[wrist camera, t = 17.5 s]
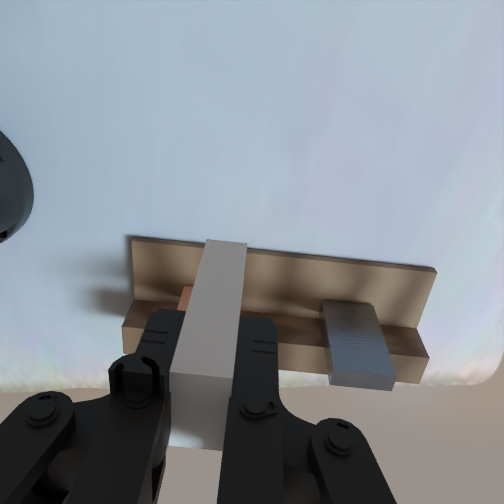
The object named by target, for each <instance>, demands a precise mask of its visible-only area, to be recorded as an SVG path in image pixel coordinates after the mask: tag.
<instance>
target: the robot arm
mask: <svg viewBox="0 0 504 504" xmlns="http://www.w3.org/2000/svg"><path fill="white" fill-rule="evenodd" d="M33 198H34V193H33V184H32V180H31V176H30V173H29V170H28V168H27V166H26V164H25V162H24V160H23V158H22V156H21V155H20V153H19V152H18V150H17V149H16V148H15V146H14V145H13V144H12V143H11V141H10V140H9V139H8V138H7V137H6V136H5V135H4V134H3V133H2V132H1V131H0V243H2V242H4V241H6V240H7V239H8V238H10V237H11V236H12V235H13V234H14V233H16V232H17V231H18V230H19V229H20V228H21V227H22V226H23V225H24V224H25V222H26V221H27V219H28V217H29V215H30V213H31V210H32V206H33ZM246 251H247V243H238V242H228V241H219V240H209V239H207V240H206V243H205V247H204V250H203V254H202V258H201V261H200V265H199V268H198V272H197V275H196V279H195V282H194V286H193V290H192V293H191V297H190V300H189V304H188V307H187V311H182V310H173V309H163V308H159V309H158V310H157V311H156V312H155V313H153V314H152V315H151V316H150V317H149V318H148V321H147V323H146V326H145V328H144V332H143V333H142V336H141V338H140V342H139V344H138V346H137V349H136V351H135V353H131V354H128V355H125V356H122V357H121V358H119V359H118V360H116V361H115V362H113V364H112V365H111V367H110V368H109V369H108V373H109V383H110V394H108V395H106V396H104V397H101V398H97V399H93V400H88V401H82V402H76V403H73V402H72V400H71V398H70V397H69V396H67V395H65V394H64V393H62V392H55V391H48V392H42V393H38V394H36V395H33V396H31V397H29V398H27V399H26V400H25V401H23V402H22V403H21V404H19V405H18V406H17V407H16V408H15V409H14V410H13V411H12V413H11V414H10V415H9V416H8V417H7V418H6V419H5V420H4V421H3V422H2V423H1V424H0V504H157V501H158V496H159V492H160V488H161V484H162V479H163V474H164V470H165V466H166V449H167V445H168V441H169V446H178V447H188V448H198V449H208V450H218V451H223V454H222V462H221V471H220V481H219V489H218V497H217V504H397V503H396V501H395V499H394V497H393V495H392V493H391V491H390V488H389V486H388V484H387V482H386V480H385V478H384V476H383V474H382V472H381V469H380V467H379V465H378V463H377V461H376V459H375V457H374V455H373V453H372V451H371V448H370V446H369V444H368V442H367V440H366V438H365V437H364V435H363V434H362V433H361V431H360V430H359V429H358V428H357V427H355V426H354V425H353V424H352V423H350V422H347V421H345V420H342V419H336V418H328V419H325V420H321V421H320V422H319V423H317V425H314V424H312V423H309V422H307V421H304V420H302V419H300V418H298V417H296V416H294V415H293V414H291V413H290V412H289V411H288V410H287V409H286V408H285V407H284V405H283V404H282V402H281V400H280V397H279V378H278V330H277V328H276V326H275V324H274V323H273V321H272V319H270V318H261V317H251V316H241V315H240V309H241V299H242V289H243V280H244V270H245V261H246Z"/></svg>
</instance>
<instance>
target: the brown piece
mask: <svg viewBox="0 0 504 504" xmlns="http://www.w3.org/2000/svg"><path fill="white" fill-rule="evenodd" d="M131 242H132V262H133V282H134V301H133V303H132V305H131V308H130V310H129V312H128V314H127V316H126V318H125V320H124V323H123V325H122V339H123V353H124V354H131V353H135V351H136V349H137V346H138V344H139V342H140V338H141V336H142V333H143V332H144V328H145V326H146V323H147V321H148V318H149V317H150V316H151V315H152V314H153V313H155V312H156V311H157V310H158V309H159V308H163V309H173V310H177V308H178V305H179V302H180V298H181V295H182V292H183V289H184V286H192V287H193V286H194V282H195V279H196V275H197V272H198V268H199V265H200V261H201V258H202V254H203V250H204V247H205V244H200V243H190V242H181V241H172V240H162V239H153V238H143V237H133V239H132V241H131ZM436 275H437V272H436V270H435V269H434V268H427V267H418V266H408V265H399V264H389V263H380V262H370V261H361V260H352V259H342V258H333V257H323V256H314V255H304V254H295V253H285V252H276V251H266V250H257V249H247V251H246V261H245V270H244V280H243V289H242V299H241V309H240V315H241V316H251V317H261V318H270V319H272V321H273V323H274V324H275V326H276V328H277V330H278V370H288V371H298V372H307V373H317V374H327V375H328V371H327V364H326V357H325V350H324V344H323V337H322V330H321V323H320V317H319V312H320V307H321V302H322V300H328V301H337V302H347V303H356V304H366V305H373V306H374V309H375V312H376V315H377V318H378V321H379V324H380V327H381V330H382V333H383V336H384V339H385V342H386V345H387V348H388V351H389V354H390V357H391V360H392V363H393V366H394V369H395V372H396V375H397V378H396V380H395V382H405V383H415V384H419V383H420V380H421V378H422V375H423V373H424V371H425V368H426V366H427V363H428V361H429V356H428V354H427V351H426V349H425V347H424V345H423V342H422V340H421V338H420V335H419V333H418V331H417V326H418V323H419V321H420V318H421V315H422V312H423V310H424V307H425V304H426V302H427V299H428V296H429V294H430V291H431V288H432V286H433V283H434V280H435V278H436Z"/></svg>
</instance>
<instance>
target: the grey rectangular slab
mask: <svg viewBox="0 0 504 504" xmlns="http://www.w3.org/2000/svg"><path fill="white" fill-rule="evenodd" d="M319 317H320V323H321V330H322V337H323V344H324V350H325V357H326V364H327V371H328V377H329V384H330V385H336V386H346V387H356V388H365V389H376V390H385V391H392V388H393V386H394V383H395V380H396V378H397V375H396V372H395V369H394V366H393V363H392V360H391V357H390V354H389V351H388V348H387V345H386V342H385V339H384V336H383V333H382V330H381V327H380V324H379V321H378V318H377V315H376V312H375V309H374V306H373V305H366V304H356V303H347V302H337V301H328V300H322V302H321V307H320V312H319Z"/></svg>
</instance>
